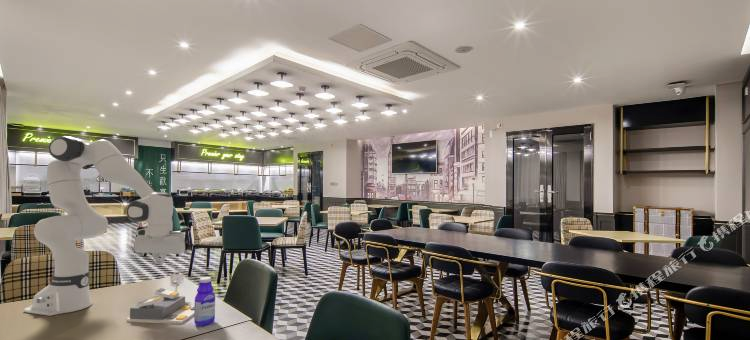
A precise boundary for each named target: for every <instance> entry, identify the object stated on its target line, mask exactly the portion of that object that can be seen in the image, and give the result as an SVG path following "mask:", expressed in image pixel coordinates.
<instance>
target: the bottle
mask: <svg viewBox="0 0 750 340" xmlns="http://www.w3.org/2000/svg"><path fill="white" fill-rule="evenodd" d="M198 283H199V284H198V287H197V288H196V292H197V293H196V294H195V297H194V306H195V312H194V316H193V317H194V320H193V321H194V324H195V325H196V326H198V327H204V326H206V325H209V324H212V323H214V321H215V318H216V294H215V293H214V287H213V285H212V277H211V276H202V277H200V278H199V282H198Z"/></svg>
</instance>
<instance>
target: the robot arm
mask: <svg viewBox="0 0 750 340" xmlns="http://www.w3.org/2000/svg"><path fill="white" fill-rule="evenodd" d="M48 153H49V154H50V156H51V157H52V158H54V160H52V161H50V162H49V163H48V165H47V167H46V180H47V182H46V183H47V187H48V193H49V200H50V202H51V203H50V204H52V205H53V206H54V207H56V208H58V209H61V210H63V211H64V212H65V213H66V214H65V215H54V216H50V217H47V218H42V219H40V220H39V221H37V223H36V224H35V226H34V227H33V234H34V237H35V238H36V240H37V241H38V242H40V243H41V244H43V245H45V246H46V247H47V248H49V250H50V251H51V253H52V256H53V263H54V271H53V272H54V274H53V275H51V276H49V277H47V281H50V282H49V284H48V285H47V286H46V287H44V288H42V289H41V290H40V291H38V292H37V293H36V294H34V295H33V299H32V303H31V305H29V306H27V307H25V308H24V309H23V313H30V314H37V315H42V316H50V317H51V316H56V315H59V314H66V313H72V312H77V311H81V310H83V309H86V308H89V307H91V306H92V305H93V301H92V299H91V293H90V292H91V291H90V284H89V283H90V278H91V277H90V276H91V273H90V270H89V269H90V266H89V265H90V264H89V263H90V255H89V253H88V252H87V251H86V250H84V249H82V248H78V247H77V244H76V241H79V240H88V239H94V238H96V237H100V236H102V235H104V234H105V233H106V232H107V229H108V227H109V220H108V219H107V217H106V216H105V215H104V214H102V213H100V212H98V211H96V210H95V209H94V208H93V207H92V206H91V205H90V203H89V201H88V200H87V198H86V195H85V190H84V187H83V183H82V178H81V170H89V169H90V168H92V167H94V168H95V170H96V171H97V173H98V174H99V175H100V176H101V177H102V178H103V179H104V180H105V181H106V182H109V183H113V184H117V185H121V186H126V187H128V188H130V189H133V190H134V191H135V192H136V194H137V195H138V196H139V197H140V198H139V199H136V200H133V201H131V202H130V203H129V204H128V205H127V206H126V211H125V212H126V216H127V218H128V220H129V221H131V222H133V223H146V222H148V224H147V225H148V226H147V227H144V228H141V229H137V230H136V231H135V235H136V237H135V238H134V245H133V251H134V252H135V253H136V254H139V253H140V254H141V253H142V254H152V258H153V259H154V264H155V265H163V264H165V259H166V257H167V256H168V255H170V254H171V255H174V254H176V255H180V254H183V253H184V252H185V251H186V242H185V233H183V232H182V231H180V230H178V231H177V230H173V228H174V226H173V224H174V222H173V213H174V200H173V196H172V195H171V194H170V193H169V192H163V191H156V190H155V188H154V187H153V186H152V185H151V184H150V183H149V181H148V180H147V179H146V178H145V177H144V176H143V175H142V174H141V173H140V172H139V171H137V170H136V169H135V168H134V167H133V166H132V165H131V164H130V163H129V162H128V161H127V159H126V158H125V156H124V155H123V154H122V153H121V151H120V150H119V149H118V148H117V147H116V146H115V145H114V144H113V143H112V142H111V141H110V140H108V139H97V140H94V141H93V142H92V141H90V140H87V139H84V138H78V137H73V136H69V135H68V136H67V135H62V136H57V137H55V138H53V139H52V140H51V142H50V143H49V145H48ZM159 255H160V256H161V257H160V258H159Z"/></svg>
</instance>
